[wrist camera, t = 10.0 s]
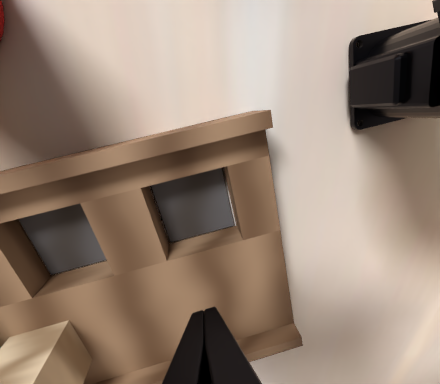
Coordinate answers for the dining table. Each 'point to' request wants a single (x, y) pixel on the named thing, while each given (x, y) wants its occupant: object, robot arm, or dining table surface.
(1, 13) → the canned food
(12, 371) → the maple block
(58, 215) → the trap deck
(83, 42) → the dining table surface
